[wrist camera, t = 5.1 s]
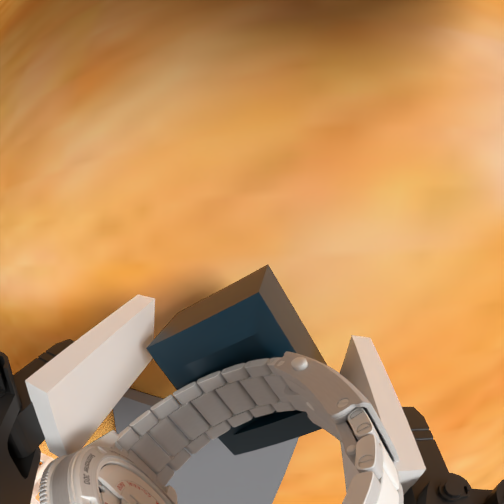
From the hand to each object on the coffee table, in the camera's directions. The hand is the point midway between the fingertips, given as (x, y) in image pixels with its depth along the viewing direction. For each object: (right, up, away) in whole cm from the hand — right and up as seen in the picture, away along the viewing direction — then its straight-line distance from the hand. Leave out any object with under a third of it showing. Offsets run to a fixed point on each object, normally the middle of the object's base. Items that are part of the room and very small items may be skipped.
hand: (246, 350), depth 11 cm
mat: (-4, -12, +7) cm, 14 cm away
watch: (0, 0, +1) cm, 1 cm away
